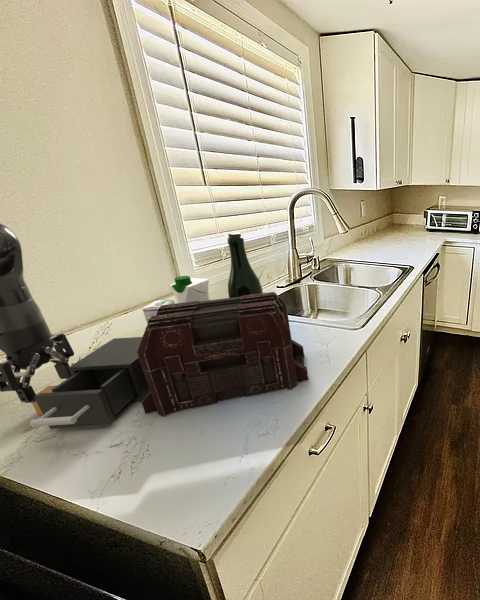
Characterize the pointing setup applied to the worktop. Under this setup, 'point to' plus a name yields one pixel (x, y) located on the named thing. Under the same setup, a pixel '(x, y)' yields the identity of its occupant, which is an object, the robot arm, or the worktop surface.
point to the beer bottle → (241, 270)
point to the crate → (218, 352)
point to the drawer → (86, 399)
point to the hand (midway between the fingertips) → (49, 389)
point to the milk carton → (190, 289)
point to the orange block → (45, 390)
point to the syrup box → (154, 308)
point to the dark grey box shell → (117, 362)
